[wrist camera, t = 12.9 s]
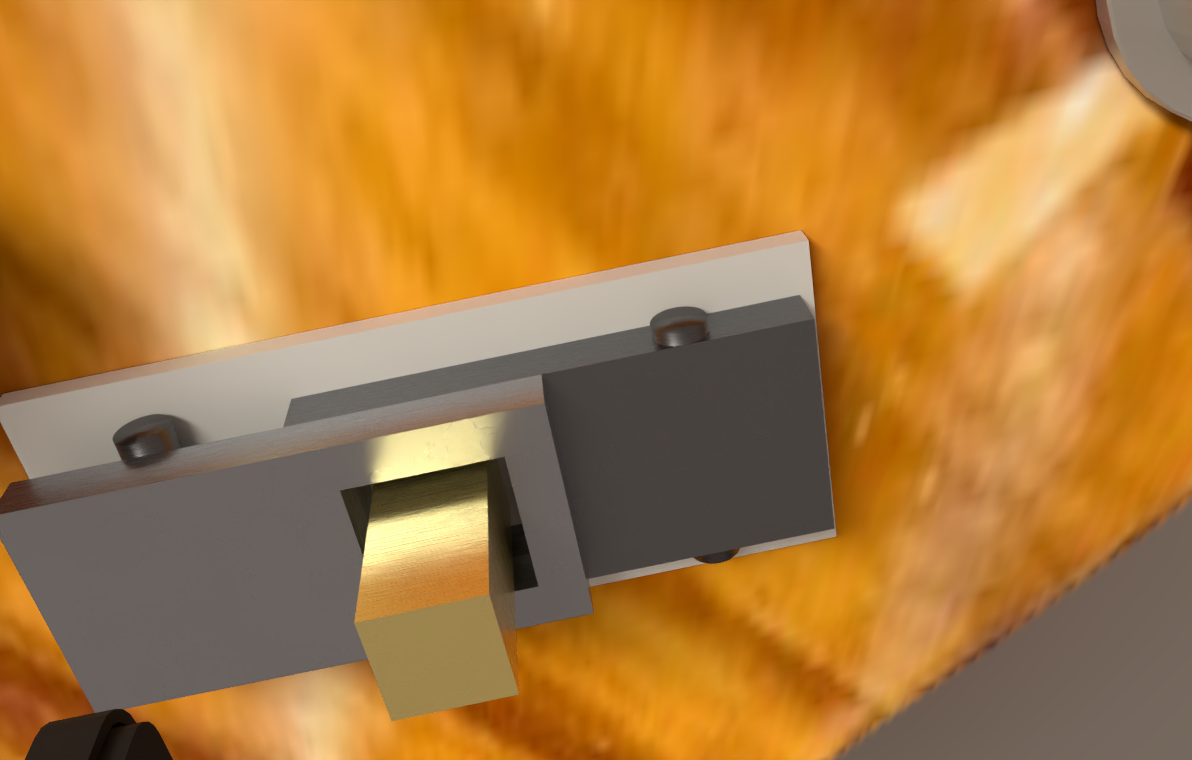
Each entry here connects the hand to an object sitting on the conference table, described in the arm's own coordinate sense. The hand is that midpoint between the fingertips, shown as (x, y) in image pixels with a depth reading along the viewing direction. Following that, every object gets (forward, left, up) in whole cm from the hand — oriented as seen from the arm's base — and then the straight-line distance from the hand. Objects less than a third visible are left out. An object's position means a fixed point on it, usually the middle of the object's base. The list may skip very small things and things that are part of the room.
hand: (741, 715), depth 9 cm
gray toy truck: (+7, +15, -30) cm, 35 cm away
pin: (+7, +15, -29) cm, 34 cm away
